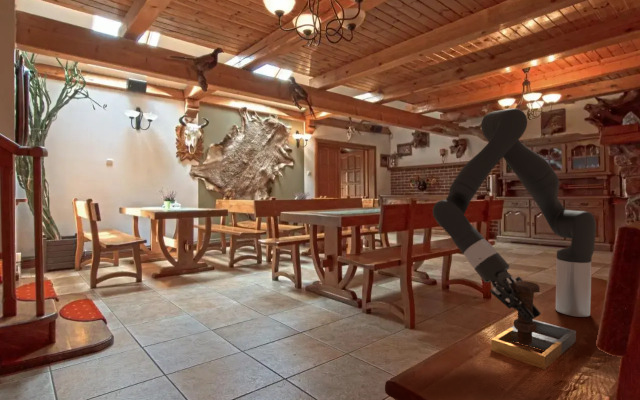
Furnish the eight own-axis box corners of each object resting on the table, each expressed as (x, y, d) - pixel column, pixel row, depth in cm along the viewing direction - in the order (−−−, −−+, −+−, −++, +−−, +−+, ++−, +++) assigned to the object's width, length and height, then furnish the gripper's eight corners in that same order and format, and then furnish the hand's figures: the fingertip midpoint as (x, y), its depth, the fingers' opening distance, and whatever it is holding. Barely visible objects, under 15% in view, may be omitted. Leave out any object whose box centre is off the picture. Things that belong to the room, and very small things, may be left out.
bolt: (540, 349, 85) (542, 287, 84) (517, 347, 86) (519, 286, 85) (531, 339, 90) (532, 280, 90) (509, 337, 91) (511, 279, 91)
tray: (526, 328, 103) (526, 317, 103) (575, 341, 94) (575, 330, 94) (491, 350, 89) (491, 339, 89) (544, 369, 80) (544, 356, 80)
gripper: (482, 255, 88) (535, 317, 79) (507, 248, 97) (557, 304, 88) (462, 272, 93) (510, 333, 84) (487, 264, 102) (533, 318, 93)
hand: (534, 317), depth 86 cm, fingers closed on bolt, 3 cm apart
